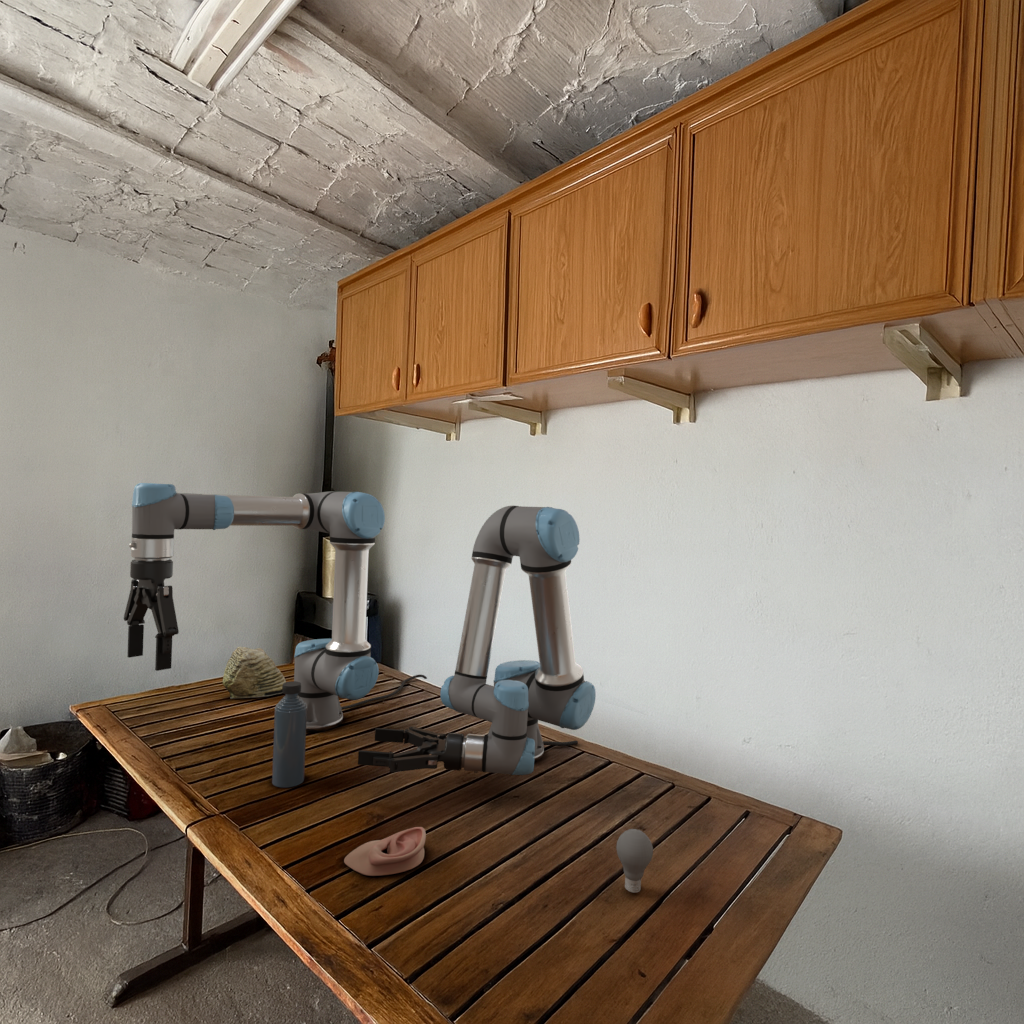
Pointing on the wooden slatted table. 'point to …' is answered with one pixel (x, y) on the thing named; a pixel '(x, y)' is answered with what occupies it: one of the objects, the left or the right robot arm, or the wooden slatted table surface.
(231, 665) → the fossil
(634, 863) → the light bulb
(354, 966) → the wooden slatted table surface
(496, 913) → the wooden slatted table surface
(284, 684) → the cap
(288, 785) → the bottle
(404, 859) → the anatomical model
